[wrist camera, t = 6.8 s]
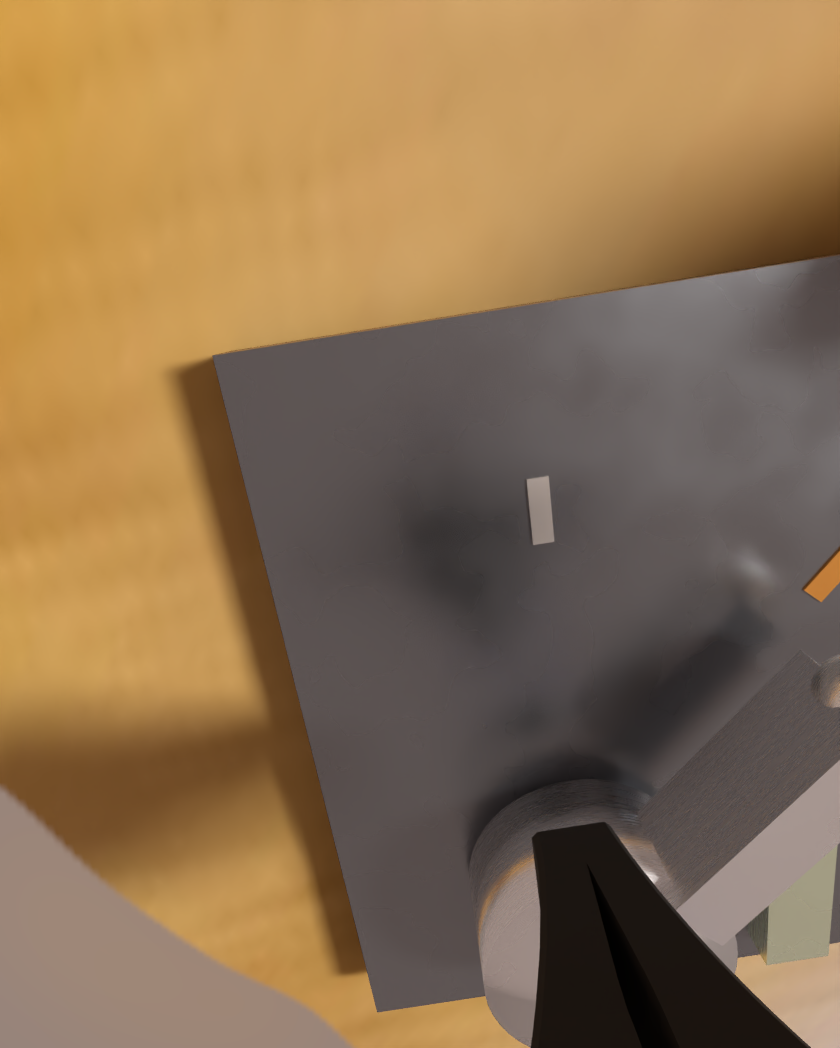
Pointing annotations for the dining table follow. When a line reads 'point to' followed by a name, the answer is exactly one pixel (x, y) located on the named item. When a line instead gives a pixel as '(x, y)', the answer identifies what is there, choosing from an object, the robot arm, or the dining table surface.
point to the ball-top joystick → (679, 832)
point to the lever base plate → (542, 569)
